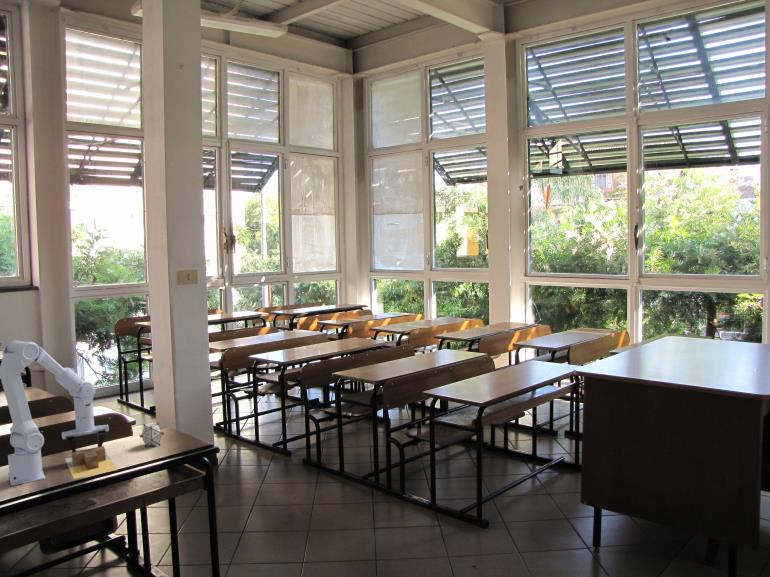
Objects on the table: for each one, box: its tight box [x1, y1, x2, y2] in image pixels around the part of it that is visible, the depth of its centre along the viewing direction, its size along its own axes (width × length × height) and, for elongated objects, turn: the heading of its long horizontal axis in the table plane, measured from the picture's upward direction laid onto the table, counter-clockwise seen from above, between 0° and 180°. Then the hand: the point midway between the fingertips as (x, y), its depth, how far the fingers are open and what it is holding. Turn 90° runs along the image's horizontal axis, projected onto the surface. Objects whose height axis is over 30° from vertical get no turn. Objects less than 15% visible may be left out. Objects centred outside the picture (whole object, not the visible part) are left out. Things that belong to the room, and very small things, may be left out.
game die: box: [138, 422, 165, 448], centre depth 238 cm, size 9×8×10 cm
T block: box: [71, 445, 106, 470], centre depth 219 cm, size 10×10×4 cm
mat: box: [64, 451, 118, 480], centre depth 220 cm, size 13×24×1 cm, turn 32°
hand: (87, 455), depth 225 cm, fingers open, 7 cm apart
